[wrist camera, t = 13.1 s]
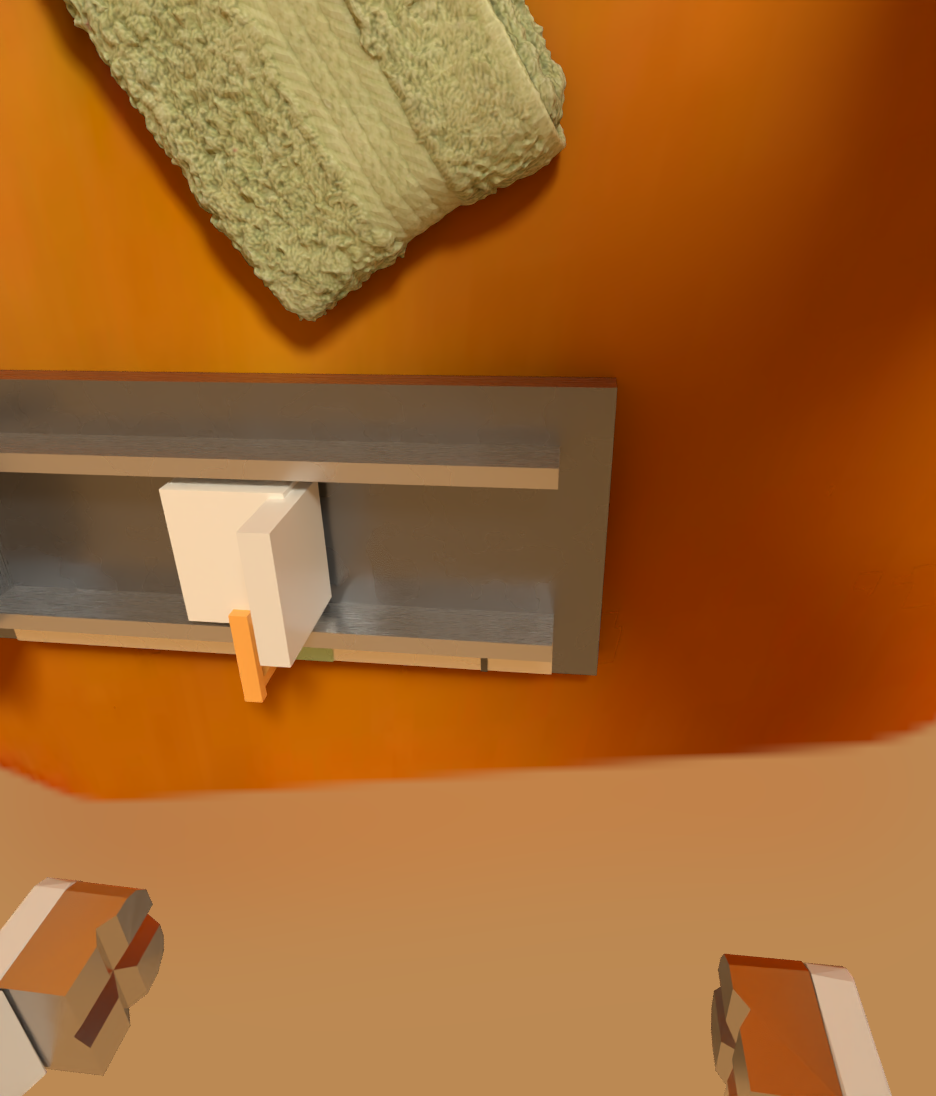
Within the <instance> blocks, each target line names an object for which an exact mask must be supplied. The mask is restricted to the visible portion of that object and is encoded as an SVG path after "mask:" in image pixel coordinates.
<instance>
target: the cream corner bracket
mask: <svg viewBox="0 0 936 1096" xmlns="http://www.w3.org/2000/svg"><path fill="white" fill-rule="evenodd" d="M159 493H160V497H161V501H162V506H163V510H164V515H165V519H166V523H167V528H168V532H169V536H170V541H171V545H172V549H173V554H174V558H175V563H176V567H177V571H178V576H179V580H180V584H181V589H182V593H183V597H184V602H185V606H186V611H187V615H188V619H189V621H201V622H218V623H230V628H231V633H232V638H233V643H234V648H235V653H236V658H237V663H238V668H239V673H240V678H241V683H242V688H243V693H244V698H245V701H248V702H262V703H263V701H264V700H265V698H266V696H267V692H266V687H265V686H266V685H267V683H268V681H269V680H270V678H271V676H272V675H273V673H274V672H275V670H276V668H277V667H289V668H291V666H292V664H293V663H294V661H295V659H296V658H297V656H298V654H299V652H300V651H301V649H302V647H303V645H304V644H305V642H306V640H307V639H308V637H309V635H310V633H311V632H312V630H313V628H314V627H315V625H316V623H317V621H318V620H319V618H320V616H321V614H322V613H323V611H324V609H325V608H326V606H327V604H328V602H329V601H330V599H331V597H332V595H331V587H330V579H329V570H328V562H327V554H326V546H325V538H324V530H323V521H322V513H321V505H320V497H319V489H318V482H305V481H274V480H243V479H211V478H180V477H174V478H173V479H172V480H170V481H169V482H168V483H167V484H165V485H164V486H163V487H161V488H160V489H159Z"/></svg>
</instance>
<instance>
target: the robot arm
mask: <svg viewBox="0 0 936 1096" xmlns="http://www.w3.org/2000/svg"><path fill="white" fill-rule="evenodd" d="M152 905H153V904H152V901H151V899H150V897H149V894H148V892H147V890H146V889H138V888H130V887H121V886H112V885H105V884H97V883H88V882H82V881H76V880H67V879H58V878H46V879H44V880H43V881H41V882H40V883H39V884H37V885H36V886H34V887H33V889H32V890H31V891H30V892H29V894H28V895H27V897H26V898H25V899H24V900H23V902H22V903H21V904H20V905H19V907H18V908H17V909H16V911H15V912H14V913H13V914H12V916H11V917H10V918H9V920H8V921H7V922H6V924H5V925H4V926H3V927H2V929H1V930H0V1096H22V1095H23V1094H24V1093H26V1092H27V1091H28V1090H29V1089H30V1088H31V1087H32V1086H33V1085H34V1084H35V1083H36V1082H37V1081H39V1080H40V1079H41V1078H42V1077H43V1076H44V1075H45V1074H46V1073H47V1071H46V1069H52V1070H61V1071H69V1072H78V1073H86V1074H94V1075H102V1076H103V1075H104V1074H105V1072H106V1070H107V1068H108V1066H109V1064H110V1063H111V1061H112V1059H113V1057H114V1055H115V1053H116V1051H117V1049H118V1047H119V1046H120V1044H121V1042H122V1040H123V1038H124V1037H125V1035H126V1033H127V1031H128V1029H129V1027H130V1015H129V1008H130V1007H131V1006H132V1005H133V1004H135V1003H136V1002H137V1001H139V1000H140V999H141V998H142V997H143V996H145V995H146V994H147V993H148V991H149V990H150V987H151V986H152V984H153V981H154V980H155V978H156V976H157V974H158V971H159V967H160V963H161V960H162V956H163V952H164V935H163V932H162V929H161V926H160V924H159V923H158V922H157V921H155V920H154V919H153V918H152V917H151V916H150V915H148V912H149V910H150V908H151V906H152ZM718 972H719V979H720V986H721V987H720V988H718V989H717V990H715V991H714V995H713V1002H712V1013H711V1033H712V1046H713V1055H714V1062H715V1070H716V1072H717V1073H718V1075H719V1076H720V1077H721V1079H722V1080H723V1081H724V1083H725V1084H726V1088H725V1093H724V1096H892V1095H891V1092H890V1089H889V1086H888V1083H887V1080H886V1077H885V1074H884V1070H883V1067H882V1064H881V1061H880V1058H879V1056H878V1052H877V1049H876V1046H875V1043H874V1040H873V1037H872V1033H871V1030H870V1027H869V1024H868V1021H867V1018H866V1015H865V1012H864V1009H863V1006H862V1003H861V1000H860V997H859V993H858V990H857V987H856V984H855V981H854V978H853V977H852V975H851V974H850V972H849V971H848V970H847V969H846V968H844V967H843V966H833V965H823V964H813V963H802V961H794V960H784V959H773V958H762V957H752V956H741V955H730V954H724V955H723V956H722V957H721V959H720V964H719V968H718Z"/></svg>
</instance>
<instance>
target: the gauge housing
mask: <svg viewBox="0 0 936 1096" xmlns="http://www.w3.org/2000/svg"><path fill="white" fill-rule="evenodd" d="M616 400H617V383H616V378H602V377H521V376H440V375H359V374H278V373H197V372H116V371H35V370H0V638H15V639H18V640H21V641H37V642H52V643H68V644H84V645H99V646H115V647H130V648H146V649H162V650H177V651H193V652H208V653H224V654H236V653H235V648H234V643H233V638H232V633H231V628H230V623H218V622H201V621H189V619H188V615H187V611H186V606H185V602H184V597H183V593H182V589H181V584H180V580H179V576H178V571H177V567H176V563H175V558H174V554H173V549H172V545H171V541H170V536H169V532H168V528H167V523H166V519H165V515H164V510H163V506H162V501H161V497H160V493H159V489H160V488H161V487H163V486H164V485H165V484H167V483H168V482H169V481H170V480H172V479H173V478H174V477H180V478H211V479H243V480H274V481H305V482H318V489H319V497H320V505H321V513H322V521H323V530H324V538H325V546H326V554H327V562H328V570H329V579H330V587H331V595H332V597H331V599H330V601H329V602H328V604H327V606H326V608H325V609H324V611H323V613H322V614H321V616H320V618H319V620H318V621H317V623H316V625H315V627H314V628H313V630H312V632H311V633H310V635H309V637H308V639H307V640H306V642H305V644H304V645H303V647H302V649H301V651H300V652H299V654H298V656H297V658H296V659H297V660H313V661H328V662H333V661H349V662H365V663H380V664H396V665H411V666H427V667H443V668H458V669H474V670H481V671H484V672H488V670H489V671H505V672H521V673H536V674H552V673H564V674H580V675H595V676H597V663H598V649H599V635H600V622H601V608H602V594H603V580H604V566H605V552H606V539H607V525H608V511H609V497H610V483H611V469H612V456H613V442H614V428H615V414H616Z"/></svg>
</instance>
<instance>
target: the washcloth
mask: <svg viewBox="0 0 936 1096" xmlns="http://www.w3.org/2000/svg"><path fill="white" fill-rule="evenodd" d="M63 1H64V2H65V3H66V8H67V10H68V11H69V13H70V14H71V15H72V17H73V18H75V19H74V25H75V26H76V27H79V28H81V29H83V30H85V31H86V32H87V33H88V34H89V36H90V39H91V41H92V42H93V43H94V45H95V47H96V51H97V52H98V53H99V56H100V58H101V59H102V60H103V62H104V63H105V64H106V65H108V66H109V67H110V70H111V76H112V77H114V79H115V80H116V82H117V83H118V84H119V86H120V87H121V88H122V89H123V90H125V91H126V93H127V94H128V96H129V97H130V103H131V105H132V106H133V107H134V108H136V109H138V111H139V113H140V114H142V115H143V116H144V117H145V122H146V127H147V129H148V130H149V132H150V133H152V134H153V136H154V139H155V140H156V142H157V144H158V145H159V146H160V147H161V148H163V149H164V150H165V153H166V155H167V156H168V157H169V158H171V159H172V160H171V162H172V164H174V165H178V166H179V167H181V169H182V173H183V175H184V177H185V178H186V179H187V180H188V183H189V187H190V190H191V193H193V194H194V196H195V199H196V200H197V202H198V204H199V206H200V207H201V208H203V209H204V210H205V211H206V212H208V213H211V214H212V217H211V219H210V222H211V223H212V224H213V225H214V226H215V228H217V229H218V231H220V232H222V233H224V234H225V235H226V236H227V237H228V238H229V239H230V240H231V241H232V246H233V247H234V248H235V249H237V250H239V251H240V253H241V254H242V256H243V257H244V259H245V260H246V262H247V263H248V264H249V266H252V267H253V268H254V274H255V275H256V276H257V277H258V278H260V279H262V280H263V283H264V286H265V287H269V289H270V291H272V293H273V295H275V296H276V297H277V298H278V300H279V301H280V303H281V304H282V305H283V306H284V307H285V309H286V310H287V311H291V312H293V313H296V314H298V317H299V319H300V321H302V319H303V318H304V319H306V320H308V321H316V319H317V318H320V317H322V315H326V314H327V313H326V309H333V308H334V306H337V301H339V300H341V299H342V298H343V297H346V296H347V294H348V292H350V291H352V290H354V291H355V290H357V289H359V288H361V287H362V282H366V281H367V280H368V279H369V278H370V276H371V274H372V273H374V272H375V271H376V270H378V269H383V268H386V267H388V266H391V265H393V264H394V263H395V261H396V258H397V257H398V256H399V257H401V258H404V254H405V250H406V247H407V244H408V242H410V241H411V240H412V239H413V238H414V237H415V236H417V235H419V234H421V233H423V232H425V231H426V230H427V229H428V228H429V227H430V226H431V225H433V224H435V223H437V222H439V221H440V220H441V219H442V218H443V217H444V216H445V215H446V214H448V213H450V212H451V211H453V210H454V209H455V208H457V207H458V206H460V205H472V204H474V203H476V202H477V201H478V200H482V199H485V198H486V196H488V195H490V194H496V192H497V187H500V188H504V187H508V186H510V185H511V184H512V183H514V182H515V181H516V180H517V179H522V178H525V177H527V176H530V175H533V174H534V173H536V172H537V171H538V170H540V169H541V168H542V167H543V166H546V165H548V164H549V163H550V161H551V160H552V158H554V157H555V156H556V155H557V154H558V153H559V152H560V151H561V150H563V149H564V148H565V147H566V139H565V136H564V133H563V129H562V127H561V125H560V120H561V118H562V116H563V111H562V105H563V102H564V89H565V87H566V79H565V75H564V73H563V70H562V68H561V66H560V65H558V64H557V63H555V62H554V61H553V60H552V59H551V52H550V51H549V50H548V49H547V48H546V47H545V41H546V40H545V39H544V38H543V37H542V32H543V27H542V26H540V25H538V24H536V23H535V22H534V17H533V16H532V15H531V14H530V11H529V8H528V6H527V5H525V2H524V0H63Z"/></svg>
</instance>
